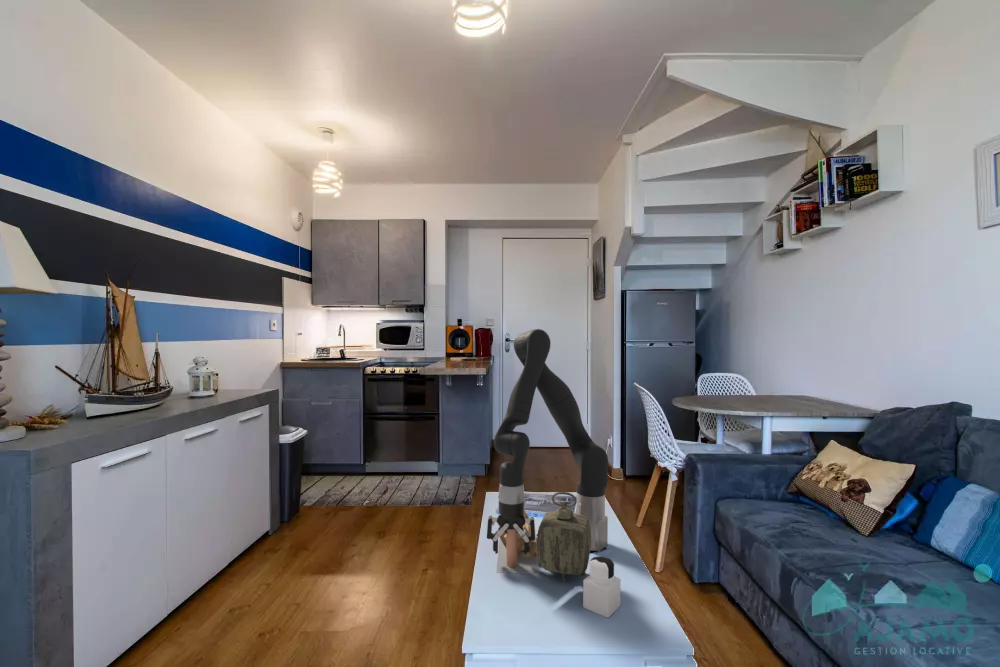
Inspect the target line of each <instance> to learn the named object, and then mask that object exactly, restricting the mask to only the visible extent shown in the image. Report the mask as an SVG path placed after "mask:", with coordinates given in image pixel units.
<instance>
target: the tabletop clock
mask: <svg viewBox="0 0 1000 667" xmlns="http://www.w3.org/2000/svg"><path fill="white" fill-rule="evenodd" d="M558 495H567V496H570V497H572V499H574V502H573V503H571V504H567V501H562V503H560V502H559V503H558V502H556V501H555V499H554V498H555V497H556V496H558ZM551 501H552V502H553V504H554V505H556V506H558V507H559V508H558V509H557V510H552V511H547V512H545V513H544V515H543V518H542V520H541V522H540V524H539V526H538V530H537V536H536V537H537V553H538V560H539V567H541V568H542V569H544V570H545V571H549V572H554V573H559V574H561V578H560V582H566V579H565V575H581V576H583V577H585V576H587V573H586V572H587V569H588V565H589V562H590V561H589V560H590V554H591V551H590V549H591V528H590V523H589V520H588V518H587V517H585V516H584V515H581V514H577V512H573V511H572V509H570V508H571V507H574V506H576V505H577V496H575V495H574V494H572V493H570V492H567V491H558V492H555V493H554V494H553V495H552V497H551Z"/></svg>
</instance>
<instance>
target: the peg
mask: <svg viewBox="0 0 1000 667" xmlns="http://www.w3.org/2000/svg"><path fill="white" fill-rule="evenodd" d="M506 551H507V566H508V567H511V568H513V567H516V566H517V533H516V529H507V534H506Z"/></svg>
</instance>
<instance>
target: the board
mask: <svg viewBox="0 0 1000 667" xmlns="http://www.w3.org/2000/svg"><path fill="white" fill-rule="evenodd" d="M536 548H537V536H536ZM540 571H541V570H540V563H539V560H538V553H537V557H517V566H516V567H513V568H511V567H508V566H507V551H506V548H505V546H504V544H503V542H502V541H501V539H500V538H499V539H498V554H497V561H496V571H495V572H496V574H497V573H498V574H500V573H501V574H531V575H532V574H533V575H534V574H535V575H537V574H538V575H539V574H540Z"/></svg>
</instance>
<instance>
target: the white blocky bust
mask: <svg viewBox="0 0 1000 667" xmlns="http://www.w3.org/2000/svg"><path fill="white" fill-rule="evenodd" d="M589 560H590V561H589V575H588V576H587V577H585V578H584V579H583V581H582V608H584V609H586V610H589V611H590V612H593V613H595V614H596V615H597V614H598V615H600V616H602V617H605V618H606V619H608V618H610V617H611V616H612V614H614V612H616V610H617V609H618V608H619V607H620V606H621V578H620V577H617V576H615V563H614V561H613V560H612V559H610V558H609V557H607V556H602V555H601V556H594V557H592V558H591V559H589Z"/></svg>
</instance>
